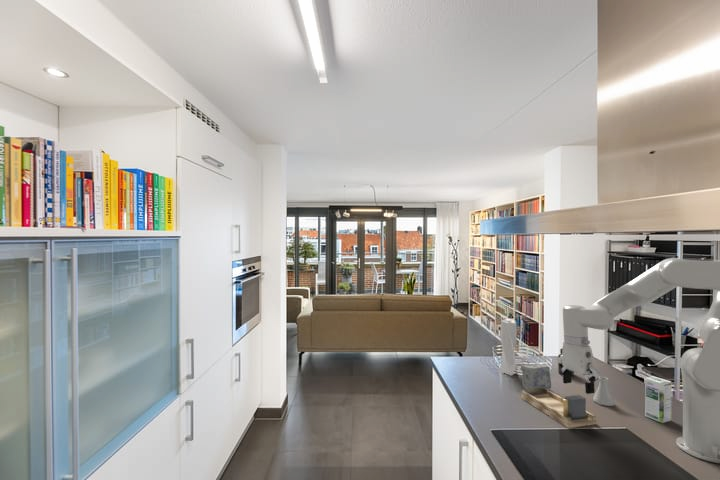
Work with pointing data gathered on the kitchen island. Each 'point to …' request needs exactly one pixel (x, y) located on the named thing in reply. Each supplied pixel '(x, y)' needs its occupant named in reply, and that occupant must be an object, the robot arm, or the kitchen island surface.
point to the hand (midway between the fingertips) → (578, 387)
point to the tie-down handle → (576, 407)
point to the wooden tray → (553, 406)
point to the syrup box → (658, 399)
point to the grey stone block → (536, 375)
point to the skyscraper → (508, 346)
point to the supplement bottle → (560, 367)
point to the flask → (603, 393)
